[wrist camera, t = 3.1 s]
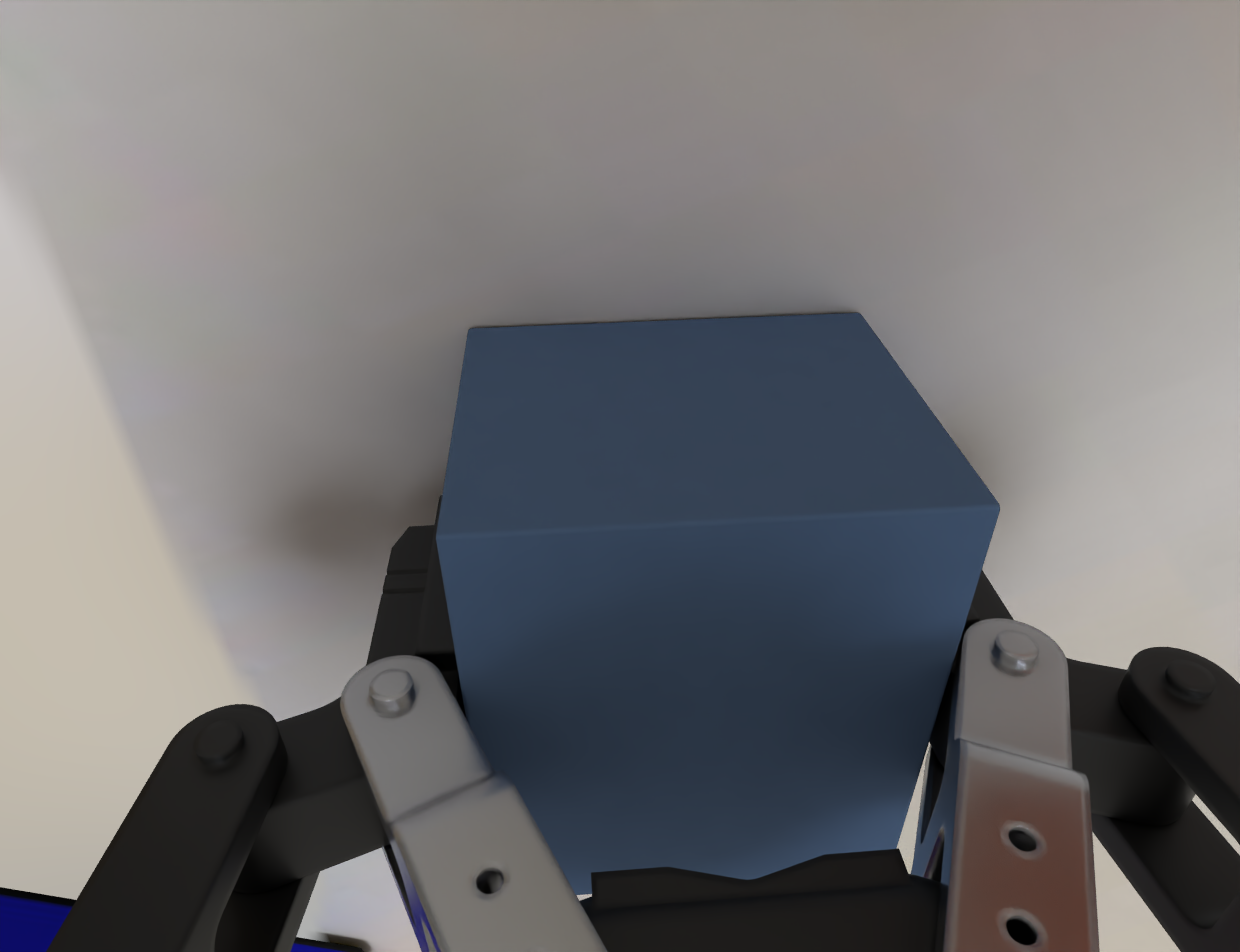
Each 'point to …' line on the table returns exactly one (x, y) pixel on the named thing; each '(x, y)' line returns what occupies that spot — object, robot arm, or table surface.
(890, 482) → the matte blue cube
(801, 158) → the table surface
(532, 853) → the robot arm
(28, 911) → the puzzle cube
